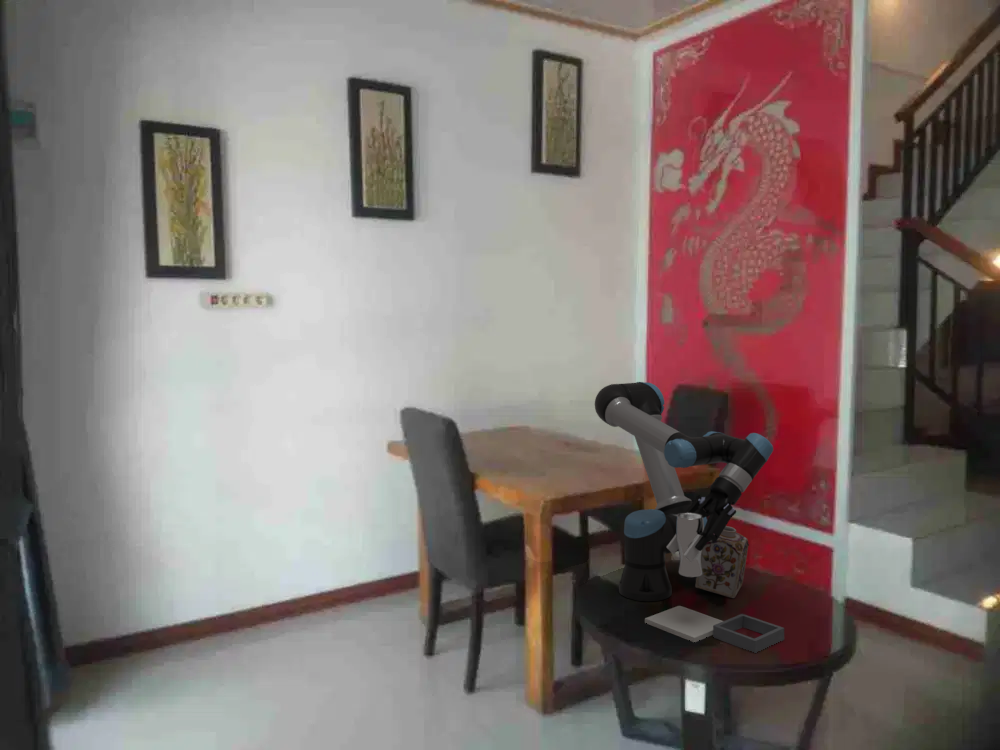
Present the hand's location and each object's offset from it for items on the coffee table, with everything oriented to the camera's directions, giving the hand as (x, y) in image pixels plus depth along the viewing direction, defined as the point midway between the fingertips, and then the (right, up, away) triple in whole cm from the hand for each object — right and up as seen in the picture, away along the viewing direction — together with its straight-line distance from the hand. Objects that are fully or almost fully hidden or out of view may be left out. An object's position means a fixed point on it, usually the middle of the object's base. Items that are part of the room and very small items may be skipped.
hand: (678, 554), depth 189 cm
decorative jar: (+18, -17, +29) cm, 38 cm away
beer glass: (+3, -6, +2) cm, 7 cm away
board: (+3, -19, +4) cm, 20 cm away
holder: (+16, -20, -5) cm, 26 cm away
